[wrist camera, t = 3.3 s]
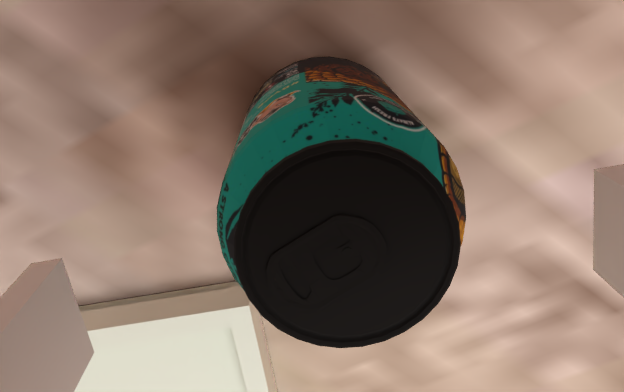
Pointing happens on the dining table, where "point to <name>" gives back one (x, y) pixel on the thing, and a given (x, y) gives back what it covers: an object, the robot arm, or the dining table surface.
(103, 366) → the tray
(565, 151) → the dining table surface
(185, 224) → the dining table surface
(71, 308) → the robot arm
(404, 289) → the beverage can
